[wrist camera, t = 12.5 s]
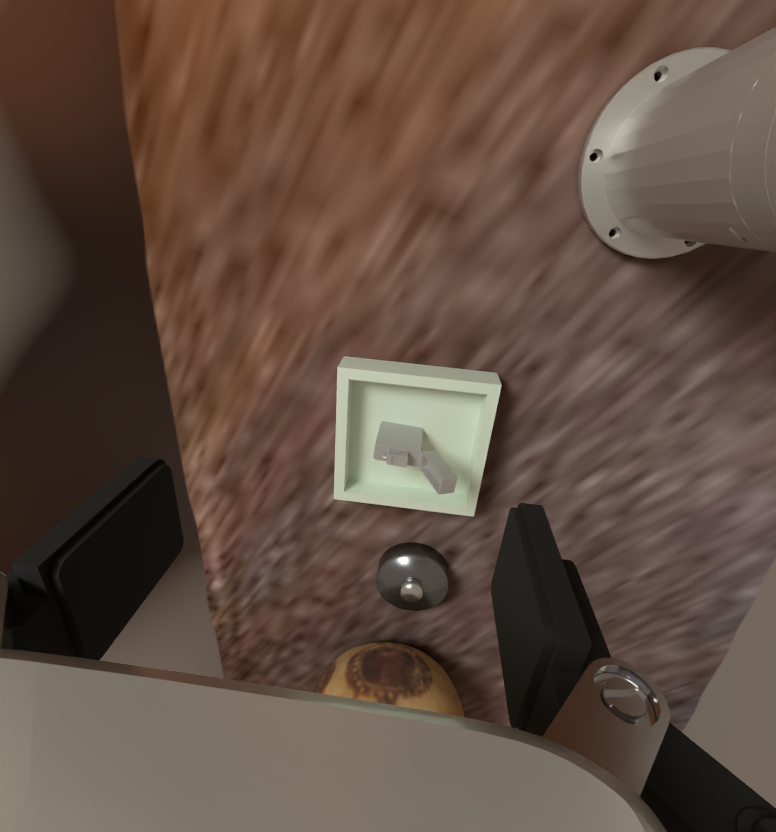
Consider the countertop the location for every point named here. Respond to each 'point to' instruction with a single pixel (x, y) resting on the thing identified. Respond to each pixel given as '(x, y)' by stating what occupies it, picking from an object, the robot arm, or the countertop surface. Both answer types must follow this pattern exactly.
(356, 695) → the clay pot
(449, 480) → the lighter
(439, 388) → the tray
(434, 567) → the pot lid
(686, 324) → the countertop surface
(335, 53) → the countertop surface
